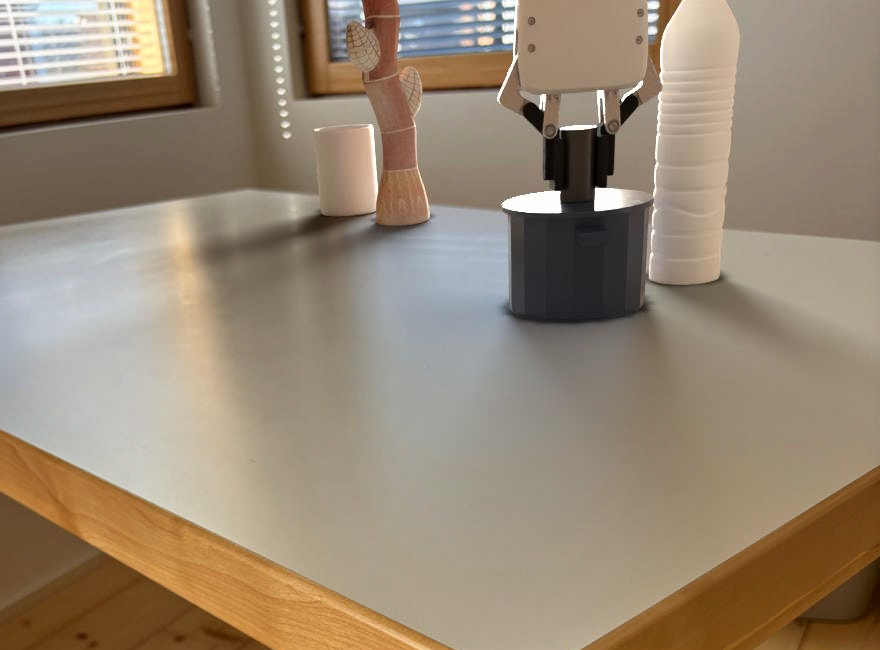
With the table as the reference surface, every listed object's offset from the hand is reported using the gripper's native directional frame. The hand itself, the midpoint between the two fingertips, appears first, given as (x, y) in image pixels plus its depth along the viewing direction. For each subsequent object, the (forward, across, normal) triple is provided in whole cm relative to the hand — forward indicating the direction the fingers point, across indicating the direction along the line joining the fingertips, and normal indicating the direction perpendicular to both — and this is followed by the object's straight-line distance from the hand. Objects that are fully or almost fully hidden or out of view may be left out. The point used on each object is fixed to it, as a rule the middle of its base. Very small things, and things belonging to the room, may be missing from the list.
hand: (577, 185), depth 86 cm
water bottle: (+10, -12, -9) cm, 18 cm away
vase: (+10, +15, -55) cm, 58 cm away
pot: (+10, 0, 0) cm, 10 cm away
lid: (+2, 0, 0) cm, 2 cm away
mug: (+10, +22, -69) cm, 73 cm away
